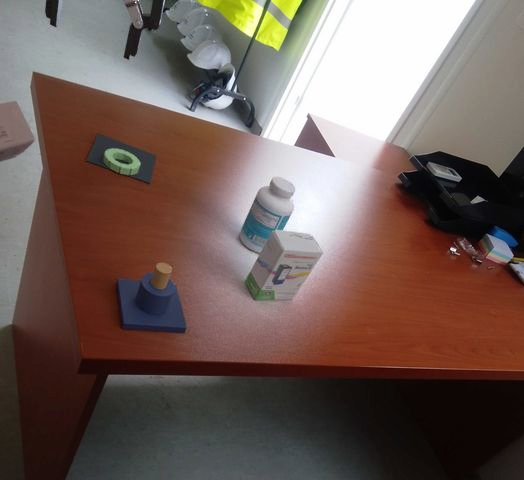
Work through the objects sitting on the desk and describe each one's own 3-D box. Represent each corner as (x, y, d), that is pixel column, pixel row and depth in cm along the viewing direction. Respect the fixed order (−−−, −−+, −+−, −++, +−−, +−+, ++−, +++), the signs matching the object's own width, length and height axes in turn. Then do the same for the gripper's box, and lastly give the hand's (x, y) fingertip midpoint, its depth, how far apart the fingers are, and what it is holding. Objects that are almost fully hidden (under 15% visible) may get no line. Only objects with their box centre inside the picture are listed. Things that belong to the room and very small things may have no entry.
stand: (122, 329, 63) (134, 287, 57) (116, 283, 68) (127, 241, 62) (184, 333, 67) (201, 294, 62) (174, 290, 72) (189, 251, 67)
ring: (100, 166, 86) (101, 160, 85) (106, 150, 90) (108, 144, 89) (136, 179, 88) (137, 172, 87) (140, 162, 92) (142, 156, 91)
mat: (86, 161, 85) (86, 160, 85) (97, 134, 93) (98, 133, 93) (149, 184, 89) (150, 183, 89) (156, 156, 97) (156, 155, 97)
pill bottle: (261, 231, 95) (290, 174, 86) (278, 255, 92) (309, 198, 83) (231, 230, 91) (258, 169, 82) (247, 255, 87) (277, 194, 78)
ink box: (281, 281, 86) (311, 231, 78) (293, 301, 83) (325, 251, 76) (243, 281, 81) (270, 227, 73) (254, 301, 79) (284, 248, 71)
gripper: (189, -96, 50) (152, 59, 61) (52, -178, 45) (37, 6, 56) (187, -91, 45) (146, 77, 56) (31, -183, 40) (19, 20, 51)
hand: (91, 41), depth 56 cm, fingers open, 8 cm apart
